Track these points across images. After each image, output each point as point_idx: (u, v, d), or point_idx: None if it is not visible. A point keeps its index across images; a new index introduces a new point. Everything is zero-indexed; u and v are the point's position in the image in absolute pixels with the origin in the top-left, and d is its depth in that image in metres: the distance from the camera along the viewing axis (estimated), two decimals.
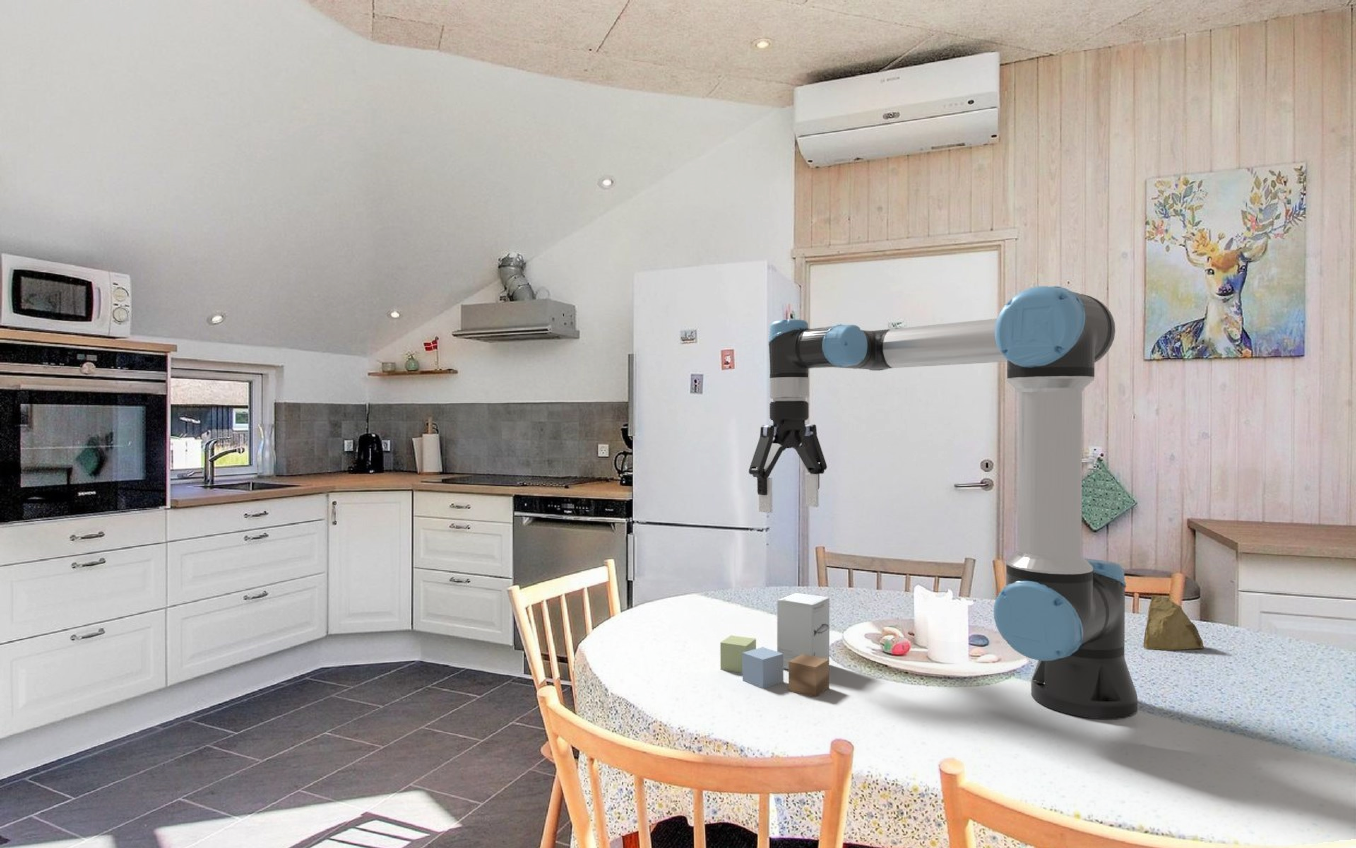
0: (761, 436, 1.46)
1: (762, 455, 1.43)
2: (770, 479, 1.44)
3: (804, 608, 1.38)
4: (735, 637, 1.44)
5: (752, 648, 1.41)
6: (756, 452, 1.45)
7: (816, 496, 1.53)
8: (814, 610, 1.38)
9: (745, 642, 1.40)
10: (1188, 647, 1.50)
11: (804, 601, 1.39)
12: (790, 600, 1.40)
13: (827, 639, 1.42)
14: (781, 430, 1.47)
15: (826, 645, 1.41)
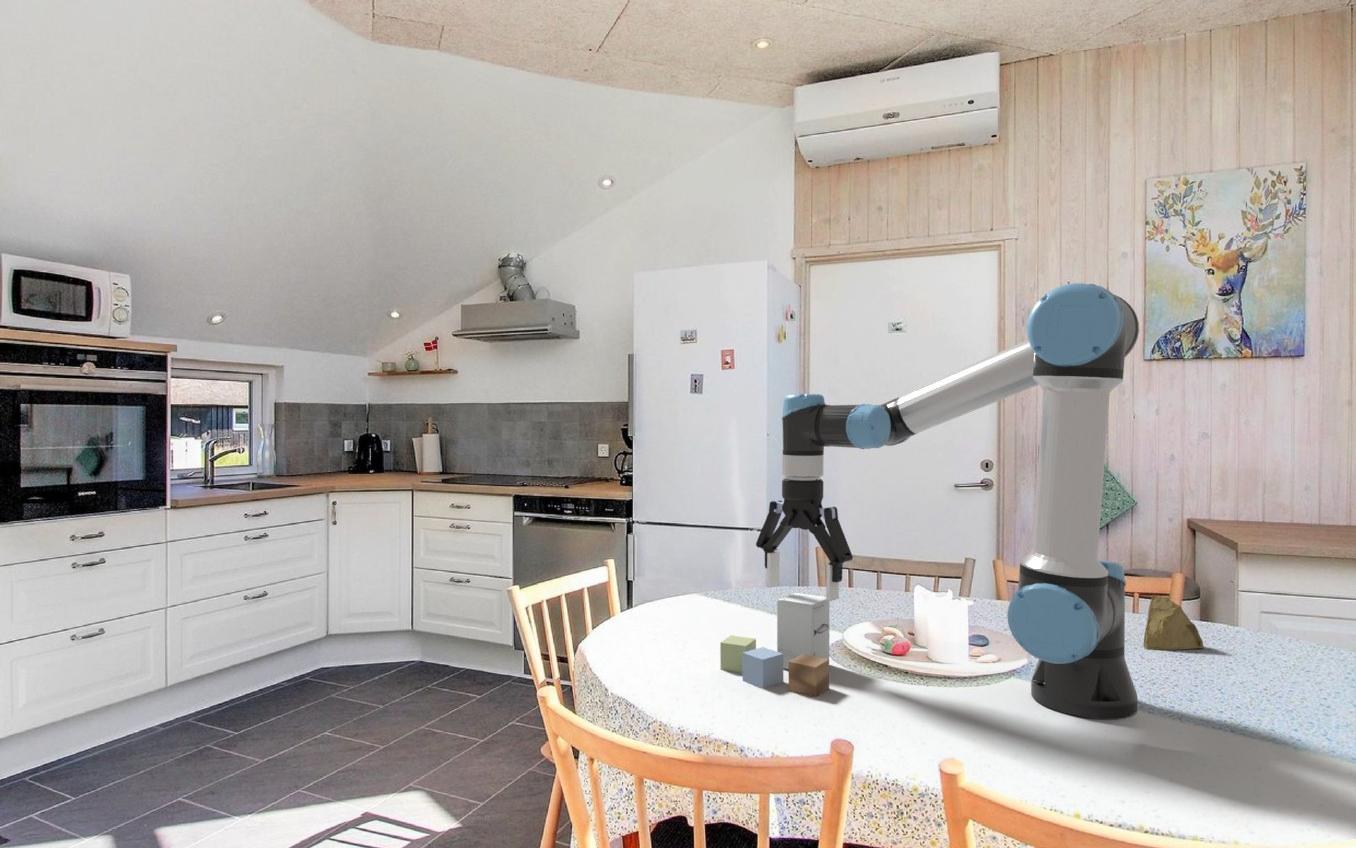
0: None
1: None
2: (768, 554, 1.46)
3: (804, 608, 1.38)
4: (735, 637, 1.43)
5: (752, 648, 1.41)
6: None
7: (827, 589, 1.36)
8: (814, 610, 1.38)
9: (744, 642, 1.40)
10: (1188, 647, 1.50)
11: (804, 601, 1.39)
12: (790, 600, 1.40)
13: (827, 639, 1.42)
14: (784, 508, 1.43)
15: (826, 645, 1.41)
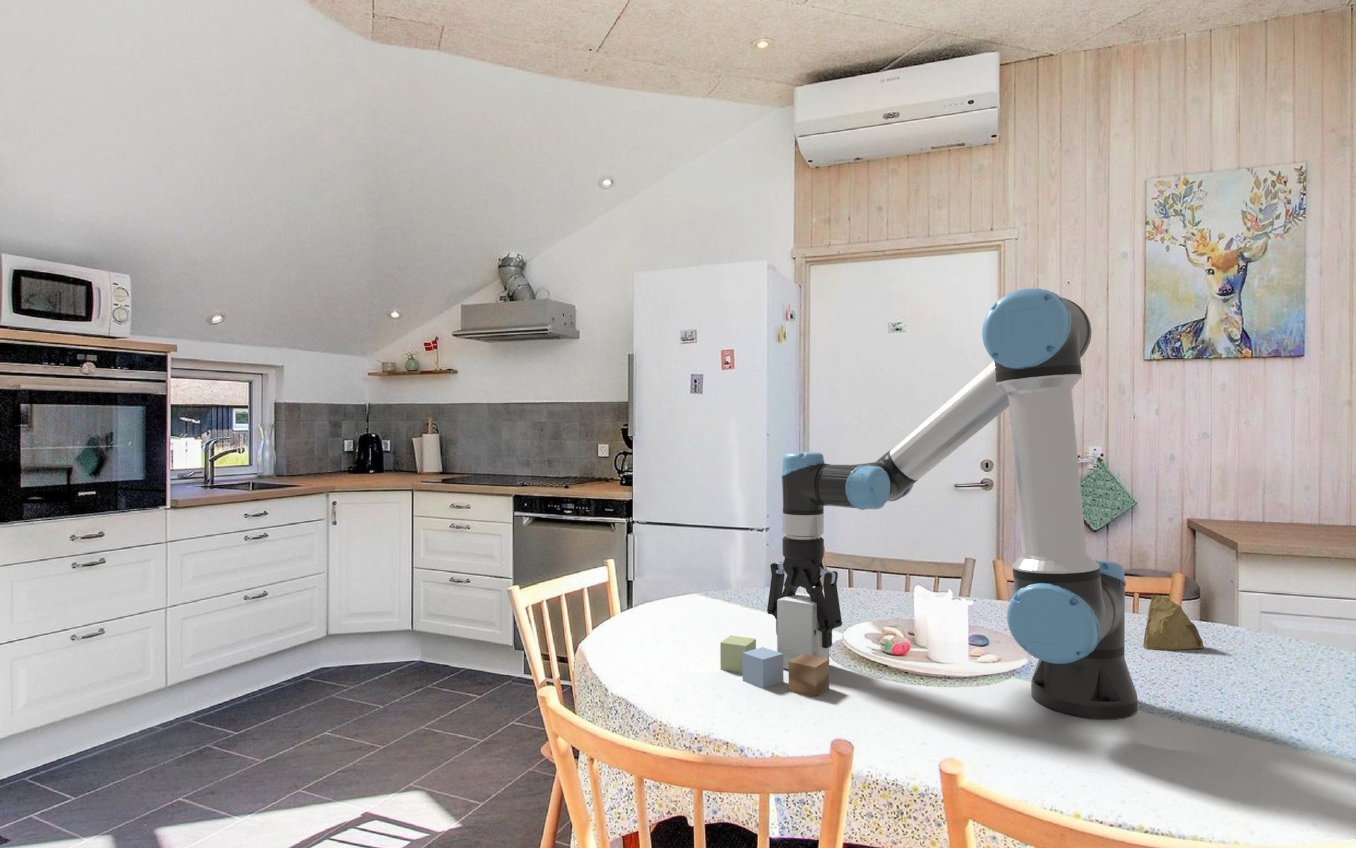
0: None
1: None
2: None
3: (804, 608, 1.38)
4: (735, 637, 1.43)
5: (752, 648, 1.41)
6: None
7: (817, 654, 1.38)
8: (814, 610, 1.38)
9: (744, 642, 1.40)
10: (1188, 647, 1.50)
11: (804, 601, 1.39)
12: (790, 600, 1.40)
13: None
14: (784, 566, 1.43)
15: None
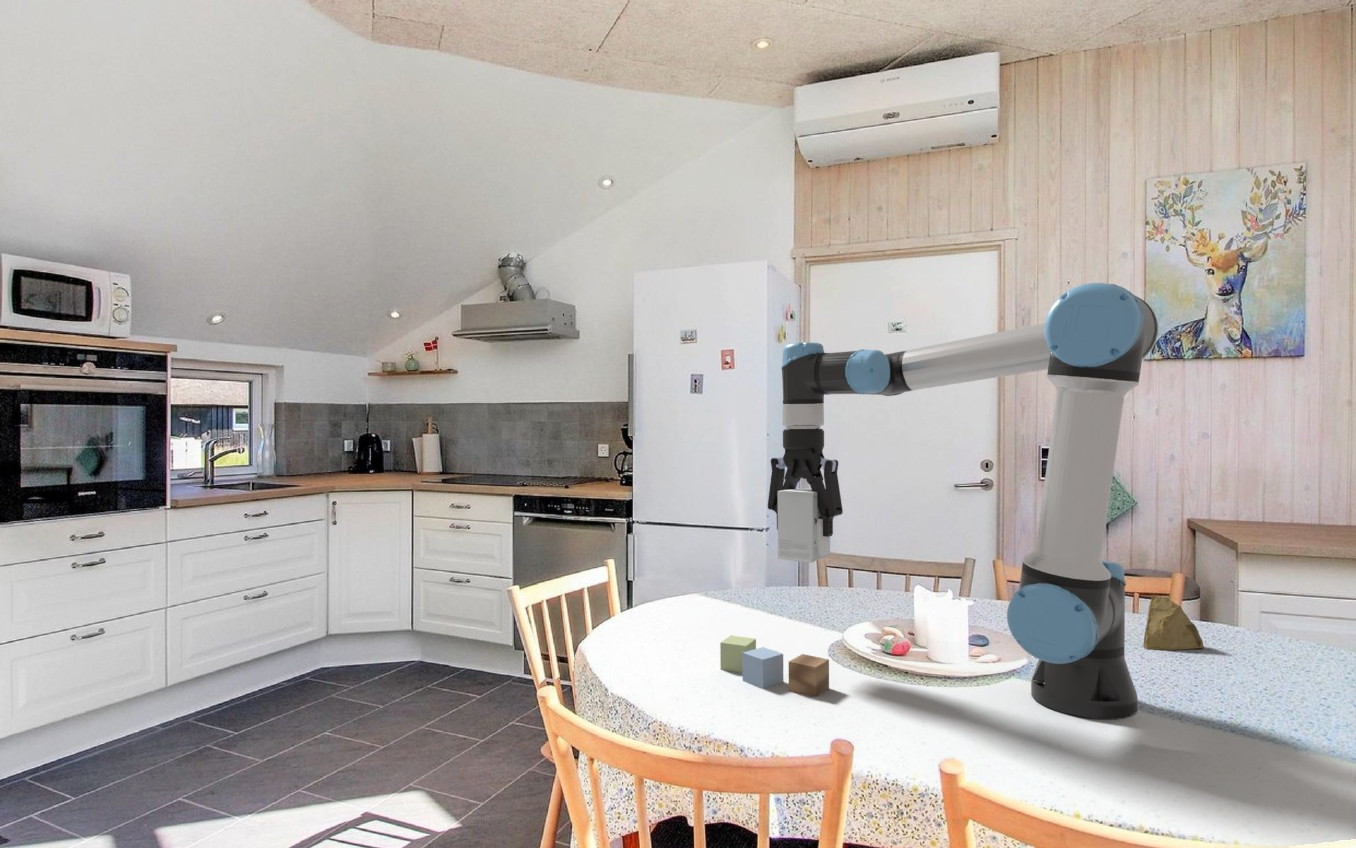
0: None
1: None
2: None
3: (804, 496, 1.38)
4: (735, 637, 1.43)
5: (752, 648, 1.41)
6: None
7: (818, 543, 1.38)
8: (815, 498, 1.37)
9: (744, 642, 1.40)
10: (1188, 647, 1.50)
11: (804, 491, 1.39)
12: (790, 490, 1.40)
13: None
14: (785, 459, 1.43)
15: None
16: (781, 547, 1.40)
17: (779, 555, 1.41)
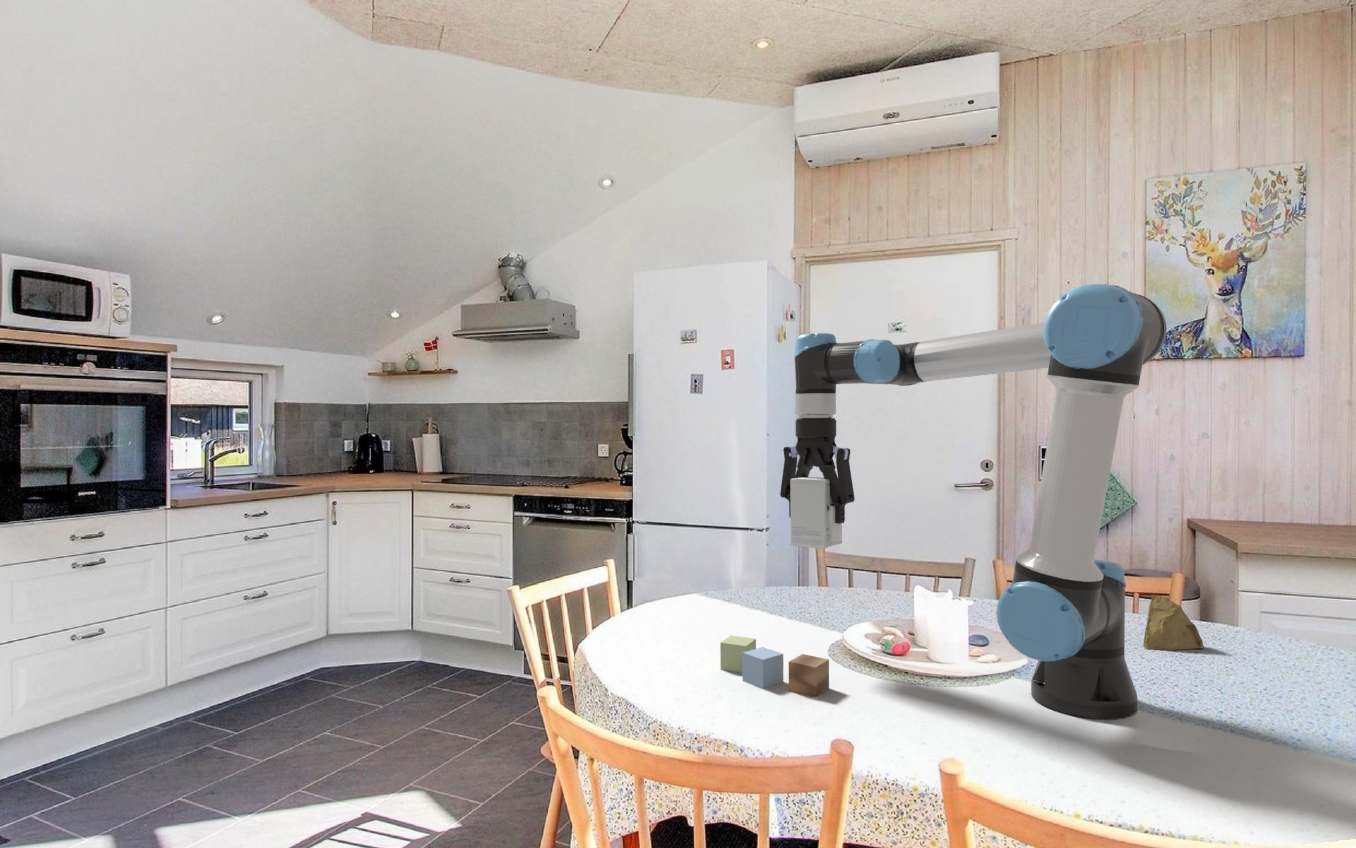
0: None
1: None
2: None
3: (817, 484, 1.40)
4: (735, 637, 1.43)
5: (752, 648, 1.41)
6: None
7: (830, 530, 1.40)
8: (827, 486, 1.40)
9: (744, 642, 1.40)
10: (1188, 647, 1.50)
11: (817, 478, 1.42)
12: (803, 478, 1.43)
13: None
14: (797, 448, 1.46)
15: None
16: (794, 534, 1.43)
17: (792, 542, 1.43)
